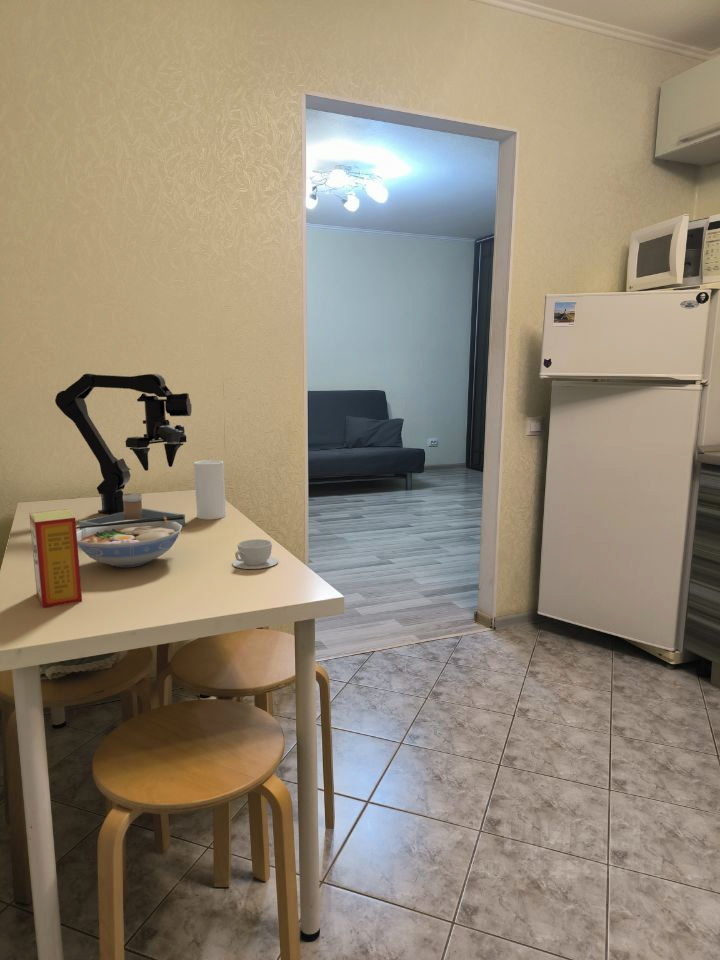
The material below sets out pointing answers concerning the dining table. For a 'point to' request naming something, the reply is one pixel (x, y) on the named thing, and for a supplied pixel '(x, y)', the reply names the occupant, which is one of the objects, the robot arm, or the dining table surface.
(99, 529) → the ramen bowl
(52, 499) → the dining table surface
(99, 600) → the dining table surface
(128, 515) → the shaker
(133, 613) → the dining table surface
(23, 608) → the dining table surface
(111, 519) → the tray
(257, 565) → the teacup
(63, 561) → the baking soda box
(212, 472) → the cup
